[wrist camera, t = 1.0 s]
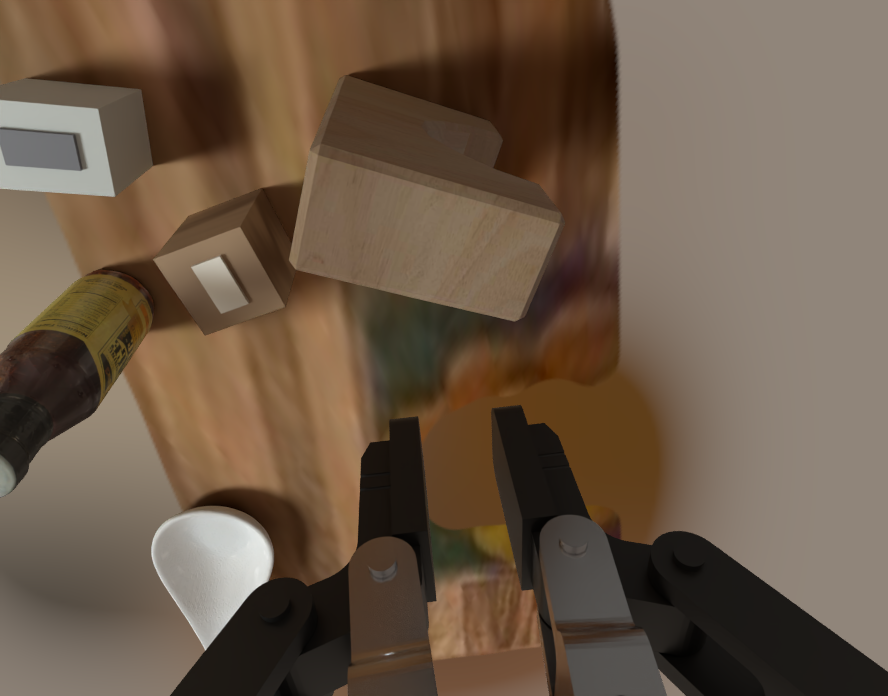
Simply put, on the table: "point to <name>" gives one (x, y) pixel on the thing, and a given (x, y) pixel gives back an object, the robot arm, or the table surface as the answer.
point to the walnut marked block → (229, 262)
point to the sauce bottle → (67, 364)
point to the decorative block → (420, 205)
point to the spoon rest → (212, 564)
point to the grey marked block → (71, 137)
